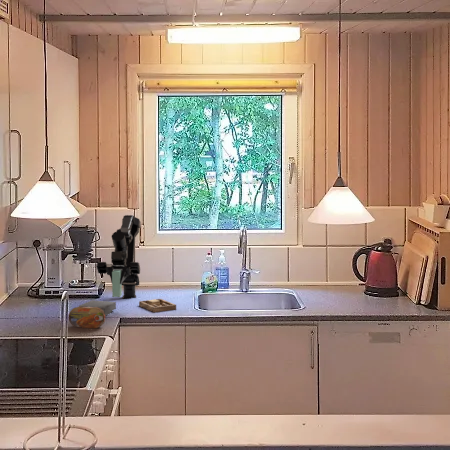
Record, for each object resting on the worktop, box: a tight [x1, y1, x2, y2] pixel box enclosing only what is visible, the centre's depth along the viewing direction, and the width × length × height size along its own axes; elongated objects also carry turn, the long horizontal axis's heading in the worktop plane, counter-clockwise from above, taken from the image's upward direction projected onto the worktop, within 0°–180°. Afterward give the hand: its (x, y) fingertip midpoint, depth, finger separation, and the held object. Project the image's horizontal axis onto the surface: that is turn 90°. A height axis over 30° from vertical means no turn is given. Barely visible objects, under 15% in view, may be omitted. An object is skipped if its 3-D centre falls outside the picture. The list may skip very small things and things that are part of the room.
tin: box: [68, 306, 106, 329], centre depth 299 cm, size 15×3×8 cm, turn 80°
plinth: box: [78, 299, 117, 317], centre depth 323 cm, size 12×12×4 cm
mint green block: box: [111, 270, 123, 298], centre depth 321 cm, size 5×3×11 cm, turn 178°
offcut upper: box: [148, 299, 160, 305], centre depth 333 cm, size 4×4×1 cm
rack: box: [138, 298, 177, 313], centre depth 330 cm, size 15×11×3 cm
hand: (116, 283), depth 320 cm, fingers closed on mint green block, 3 cm apart
